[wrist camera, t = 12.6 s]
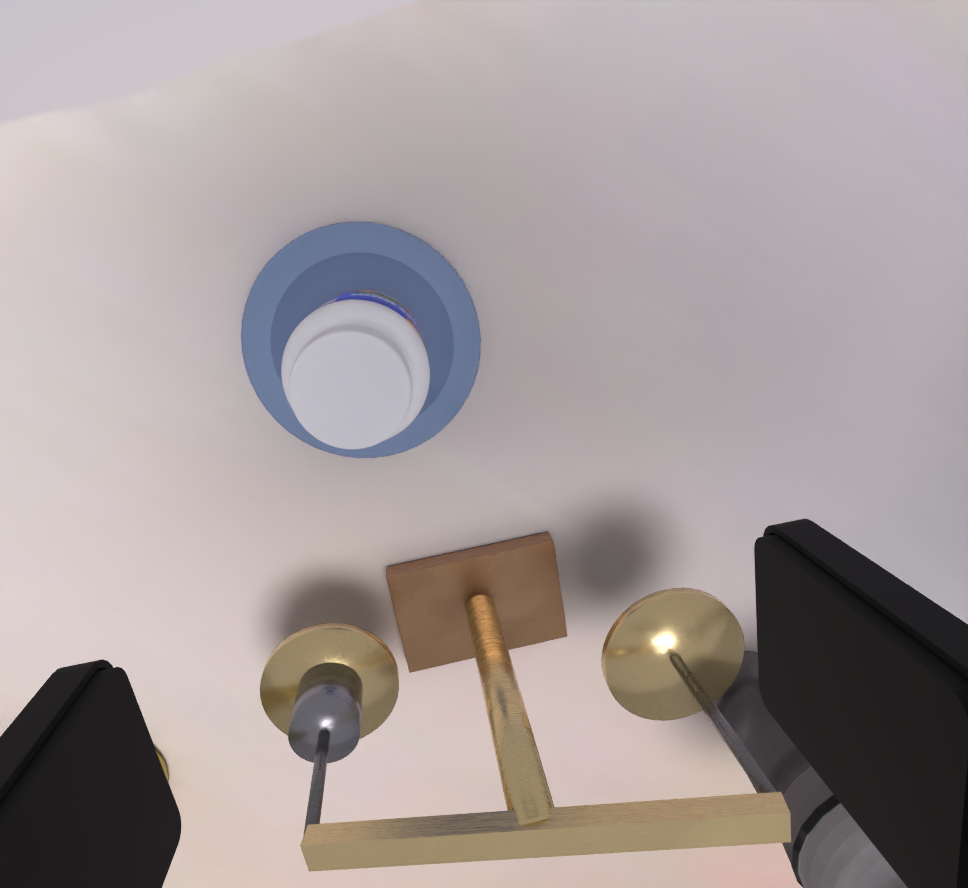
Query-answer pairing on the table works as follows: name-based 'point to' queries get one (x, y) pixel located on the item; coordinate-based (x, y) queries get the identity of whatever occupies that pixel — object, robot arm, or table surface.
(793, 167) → the table surface
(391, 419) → the pill bottle
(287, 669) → the balance
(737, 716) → the beverage cup
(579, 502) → the table surface
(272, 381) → the dish
